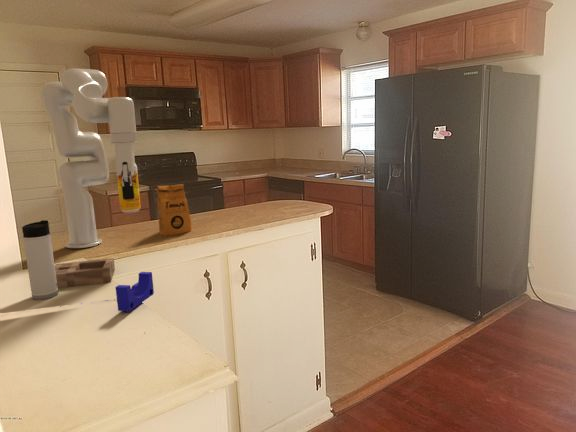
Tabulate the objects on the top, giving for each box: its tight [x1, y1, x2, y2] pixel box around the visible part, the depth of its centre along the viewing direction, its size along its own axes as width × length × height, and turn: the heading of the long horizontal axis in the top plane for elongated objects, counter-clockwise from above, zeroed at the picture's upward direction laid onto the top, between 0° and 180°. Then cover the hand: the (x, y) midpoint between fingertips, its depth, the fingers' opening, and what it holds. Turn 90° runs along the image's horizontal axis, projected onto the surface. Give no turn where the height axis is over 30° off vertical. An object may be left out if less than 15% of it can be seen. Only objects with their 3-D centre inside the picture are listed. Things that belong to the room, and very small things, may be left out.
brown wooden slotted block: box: [54, 257, 116, 289], centre depth 134 cm, size 12×17×4 cm
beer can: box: [116, 162, 142, 214], centre depth 141 cm, size 6×6×15 cm
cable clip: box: [115, 271, 155, 312], centre depth 114 cm, size 12×4×6 cm, turn 168°
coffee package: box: [156, 183, 193, 237], centre depth 182 cm, size 10×12×22 cm
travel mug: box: [21, 219, 59, 301], centre depth 120 cm, size 6×7×20 cm
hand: (129, 197), depth 141 cm, fingers closed on beer can, 6 cm apart
